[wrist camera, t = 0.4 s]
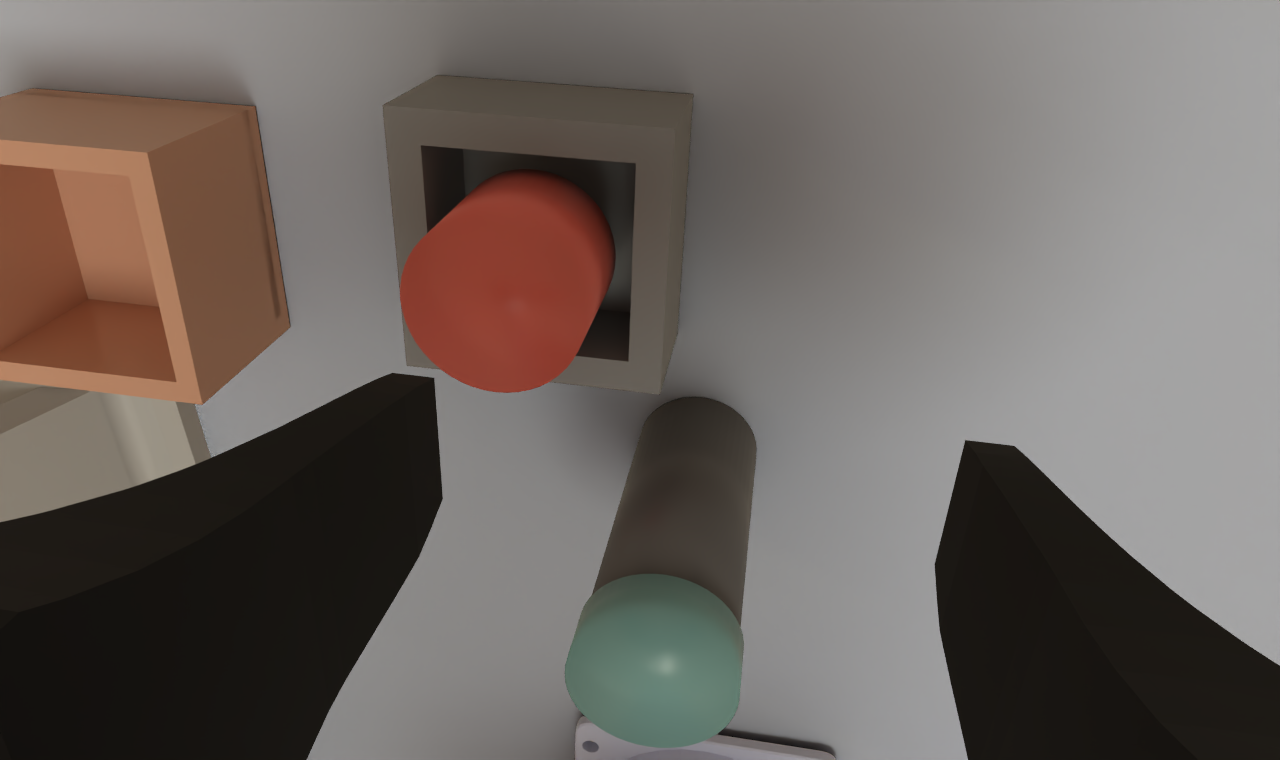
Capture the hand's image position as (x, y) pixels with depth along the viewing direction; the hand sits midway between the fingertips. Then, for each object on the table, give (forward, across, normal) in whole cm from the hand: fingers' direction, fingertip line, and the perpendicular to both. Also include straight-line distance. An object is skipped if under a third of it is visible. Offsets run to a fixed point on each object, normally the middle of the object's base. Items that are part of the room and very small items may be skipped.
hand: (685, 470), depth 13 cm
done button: (+7, +4, 0) cm, 8 cm away
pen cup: (+10, +14, +1) cm, 17 cm away
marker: (+10, 0, +6) cm, 11 cm away
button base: (+10, +4, 0) cm, 10 cm away
